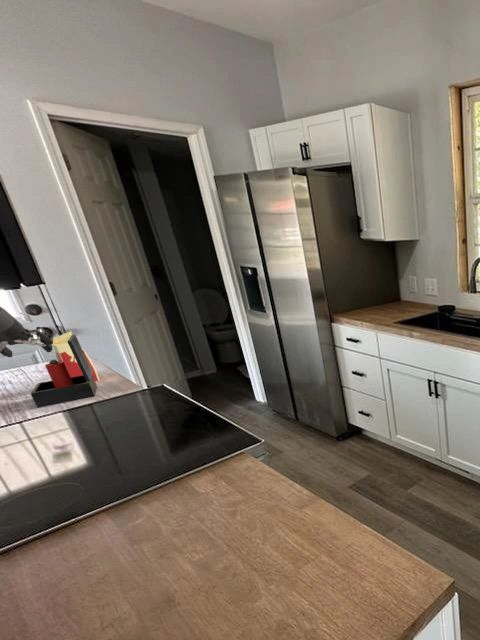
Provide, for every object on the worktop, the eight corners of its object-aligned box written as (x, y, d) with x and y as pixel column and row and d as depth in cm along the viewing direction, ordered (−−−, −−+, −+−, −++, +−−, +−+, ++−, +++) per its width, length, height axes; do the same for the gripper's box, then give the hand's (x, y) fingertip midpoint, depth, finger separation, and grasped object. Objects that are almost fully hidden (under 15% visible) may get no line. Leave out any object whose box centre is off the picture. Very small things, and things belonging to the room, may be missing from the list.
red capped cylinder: (59, 399, 139) (42, 362, 135) (61, 396, 142) (44, 359, 138) (77, 396, 142) (61, 359, 137) (78, 393, 145) (62, 357, 140)
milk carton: (95, 377, 163) (75, 328, 156) (102, 382, 158) (81, 331, 151) (63, 384, 156) (40, 333, 149) (69, 389, 151) (45, 336, 144)
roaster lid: (67, 341, 134) (70, 341, 134) (71, 334, 144) (75, 334, 144) (86, 381, 139) (89, 381, 140) (89, 372, 149) (92, 372, 149)
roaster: (38, 410, 134) (30, 393, 131) (45, 398, 143) (37, 383, 141) (95, 398, 142) (88, 382, 140) (98, 388, 151) (91, 373, 149)
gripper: (29, 307, 117) (61, 338, 131) (-45, 314, 111) (-3, 346, 124) (30, 329, 115) (62, 358, 128) (-46, 337, 108) (-4, 367, 122)
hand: (30, 352), depth 126 cm, fingers open, 8 cm apart
